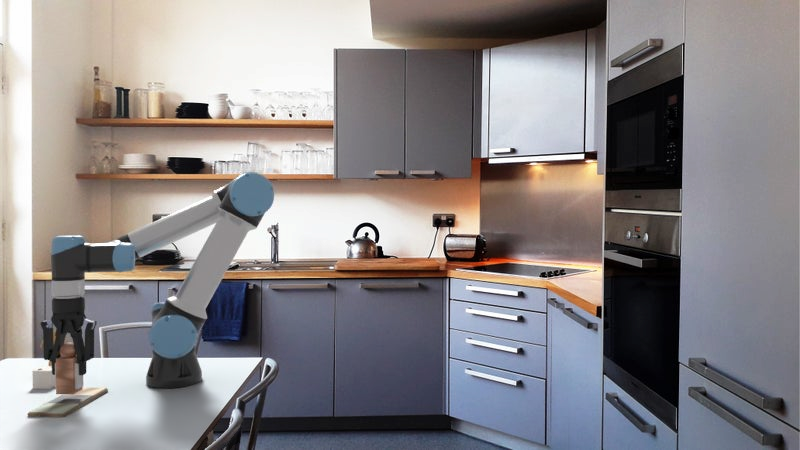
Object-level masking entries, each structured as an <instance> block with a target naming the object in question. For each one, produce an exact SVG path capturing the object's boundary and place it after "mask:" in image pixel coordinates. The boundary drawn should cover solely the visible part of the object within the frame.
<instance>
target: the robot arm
mask: <svg viewBox="0 0 800 450" xmlns="http://www.w3.org/2000/svg"><path fill="white" fill-rule="evenodd" d="M274 200H275V190H274V187H273V185H272V183H271V182H270V180H269V179H268V178H267V177H265V176H264V175H263V174H260V173H257V172H254V171H248V172H247V171H246V172H243V173H241V174H239V175H238V176H236V177H235V178H234V179H232V180H231V181H230V182H229V183H227V184H225V185H224V186H222V187H220V188H218V189H216V190H214V191H213V193H212V194H211V196H209V197H206V198H204V199H202V200H199V201H197V202H194V203H193V204H190V205H188V206H186V207H184V208H182V209H179V210H177V211H175V212H173V213H171V214H169V215H165V216H164V217H162V218H159V219H157V220H155V221H152V222H150V223H148V224H145V225H144V226H142V227H139V228H136V229H135V230H132V231H130V232H127V233H126V234H124V235H121V236H119V237H116V238H115V239H111V240H109V241H107V242H103V243H102V242H100V243H98V242H97V243H91V242H86V240H85V237H84V236H83V235H57V236H54V237H53V238H52V241H51V253H50V259H51V260H50V261H51V268H50V269H51V296H53V297H52V298H51V312H52V316H51V317H50V319H45V320H43V321H41V322H40V326H41V329H42V335H43V336H42V338H43V339H42V341H43V344H42V346H43V347H42V348H43V360H44V361H48V362H49V361H51V362H52V374H53V375H55V387H54V389H55V390H56V358H59V357H61V354H60V348H61V346H62V345H63V344H65V340H66V337H65V336H67V334H69V335H70V338H71V339H72V341H73V342H72V343H74V348H75V352H76V356H77V362H76V363H75V389H79V388H81V387H84V375H86V374H87V361H89V360H90V361H91V360H92V359H94V357H95V329H96V326H97V321H96V320H90V319H88V318H87V316H86V314H85V310H86V298H85V296H84V295H85V294H86V289H85V287H86V282H85V281H86V280H85V279H86V278H85V275H86V273H112V272H113V273H124V272H133V271H134V269H135V265H136V260H138V259H140V258H143V257H144V256H148V255H149V254H151V253H153V252H155V251H157V250H160V249H162V248H164V247H166V246H168V245H170V244H173V243H175V242H177V241H179V240H182V239H184V238H186V237H188V236H191V235H192V234H195V233H197V232H199V231H201V230H203V229H206V228H208V227H210V226H212V225H214V227H213V228H212V230H211V232H210V234H209V235H208V237H207V239H206V241H204V244H203V246H202V247H201V250H200V251H199V252H198V255H197V256H196V259H195V260H194V262H193V264H192V265H191V268H190V269H189V271H188V273H187V274H186V276H185V278H184V279H183V282H182V284H181V285H180V286H179V289H178V291H177V292H176V294H174V295H171V296H170V297H167V298H166V300H165V301H164V302H163V301H162V302H154V303H153V304H152V306H151V312H150V313H151V327H150V328H149V331H148V332H149V333H148V342H149V345H150V346H151V348H152V357H151V361H150V363H149V366H148V369H147V373H146V376H145V379H146V380H145V382H146V383H145V384H146V386H148V387H151V388H157V389H173V388H183V387H187V386H191V385H195V384H197V383H198V384H199V382H201V381H202V379H203V373H202V372H203V371H202V367H201V365H200V363H199V360H198V356H197V354H196V343H197V340H198V335H199V334H200V332H201V330H202V328H203V326H204V324H205V322H206V321H207V319H208V315H207V311H206V309H207V307H208V305H209V304H210V301H211V300H212V298H213V297H214V294H215V293H216V290H217V289H218V287H219V286H220V284H221V282H222V280H223V278H224V276H225V274H226V272H227V271H228V269H229V267H230V265H231V264H232V261H234V258H235V257H236V255H237V252H238V251H239V249H240V248H241V246H242V244H243V242H244V240H245V238H246V237H247V235H248V233H249V232H250V231H253V230H256V229H257V228H258V226H259V224H260V223H261V221H262V219H263V217H264V216H265V213H267V212H268V211H269V210H270V209H271V207H272V206H273V204H274ZM83 326H84V327H83ZM53 327H55V328H56V329H55V330H56V333H55V336H56V338H55V343H54V341H53V332H54V328H53ZM82 327H83V328H84V329H85V330H84V338H83V330H82Z"/></svg>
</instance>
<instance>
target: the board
mask: <svg viewBox="0 0 800 450" xmlns="http://www.w3.org/2000/svg"><path fill="white" fill-rule="evenodd" d="M108 392H109V389H108V388H107V387H84V386H83V390H81V391H79V392H77V393H75V394H60V395H59V396H57V397H55V398H53V399H51V400H50V401H48V402H46V403H44V404H42V405H39V406H37V407H36V408H34V409H32V410H30V411H29V412H28V413H27V417H28V418H30V417H31V418H34V417H35V418H37V417H38V418H39V417H40V418H41V417H43V418H65V417H68V415H70V414H73V413H74V412H76V411H78V410H79V409H81V408H83V407H85V406H86V405H88V404H90V403H91V402H93V401H95V400H97V399H98V398H100V397H101V396H103V395H105V394H107V393H108Z"/></svg>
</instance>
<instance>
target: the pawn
mask: <svg viewBox="0 0 800 450" xmlns="http://www.w3.org/2000/svg"><path fill="white" fill-rule="evenodd" d="M60 354H61V357H59V358H56V389H55V394H56V395H63V394H75V393H77V392H79V391H81V390H83V387H84V386H83V387H81V388H79V389H75V363H76V362H77V356H76V352H75V348H74V343H73V342H72V341H70V342H68V341H67V342H64V344H63V345H62V346H61V348H60Z"/></svg>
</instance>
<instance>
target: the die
mask: <svg viewBox="0 0 800 450" xmlns="http://www.w3.org/2000/svg"><path fill="white" fill-rule="evenodd" d="M31 372H32V389H46V390H47V389H49V390H50V389H52V388H55V375H53V374H52V366H49V365H47V366H45V365H44V366H43V365H42V366H41V367H38V368H36V369H34V370H32V371H31Z"/></svg>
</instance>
